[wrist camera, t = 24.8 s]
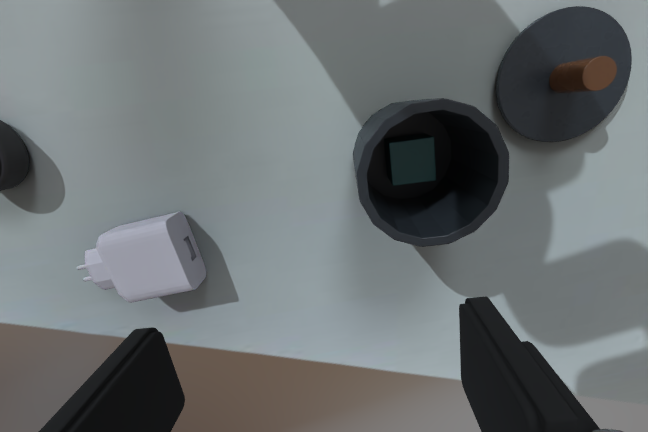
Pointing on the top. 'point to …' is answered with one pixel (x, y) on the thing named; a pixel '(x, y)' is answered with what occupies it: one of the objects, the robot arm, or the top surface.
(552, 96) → the lid
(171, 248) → the charger
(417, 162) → the block
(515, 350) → the robot arm
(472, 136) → the container
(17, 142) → the smart speaker
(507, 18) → the top surface
